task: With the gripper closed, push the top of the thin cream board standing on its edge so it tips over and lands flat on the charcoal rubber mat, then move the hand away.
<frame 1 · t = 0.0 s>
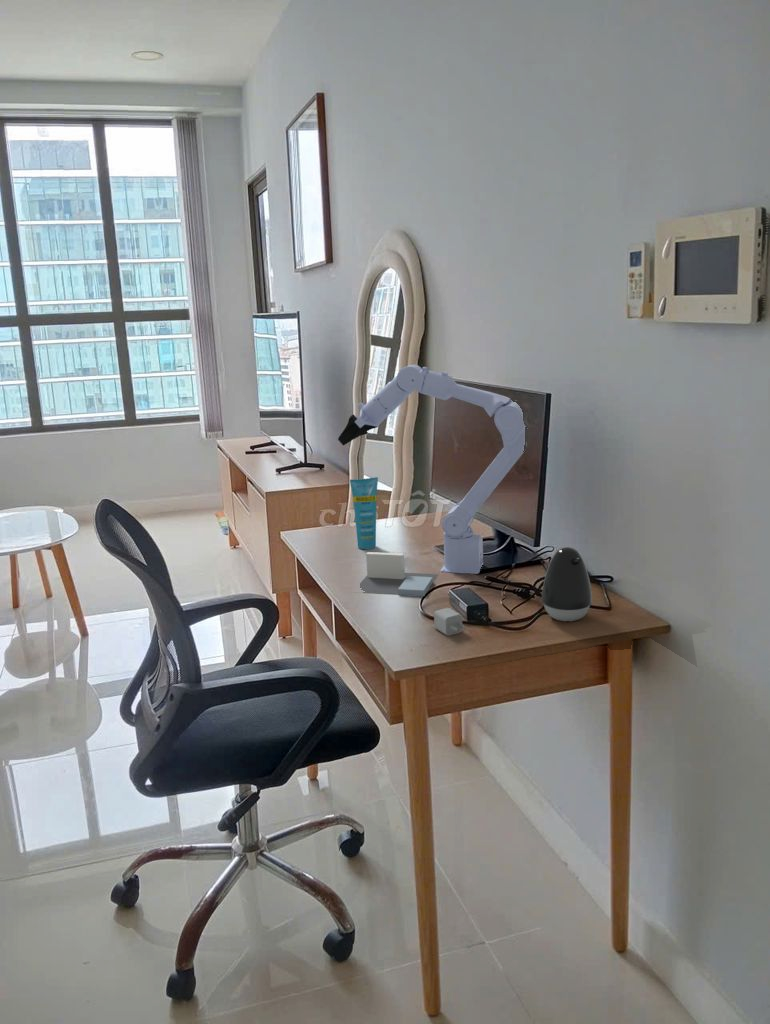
hand: (345, 439, 209), 32 cm above the table, tool tilted 50°, fingers open, 7 cm apart
cream board: (385, 577, 205), resting on mat
tube: (367, 547, 230), on the table
mat: (396, 584, 201), on the table
usb wall charger: (451, 633, 172), on the table
slate board: (415, 588, 196), resting on mat
grey egg shaped device: (566, 618, 177), on the table
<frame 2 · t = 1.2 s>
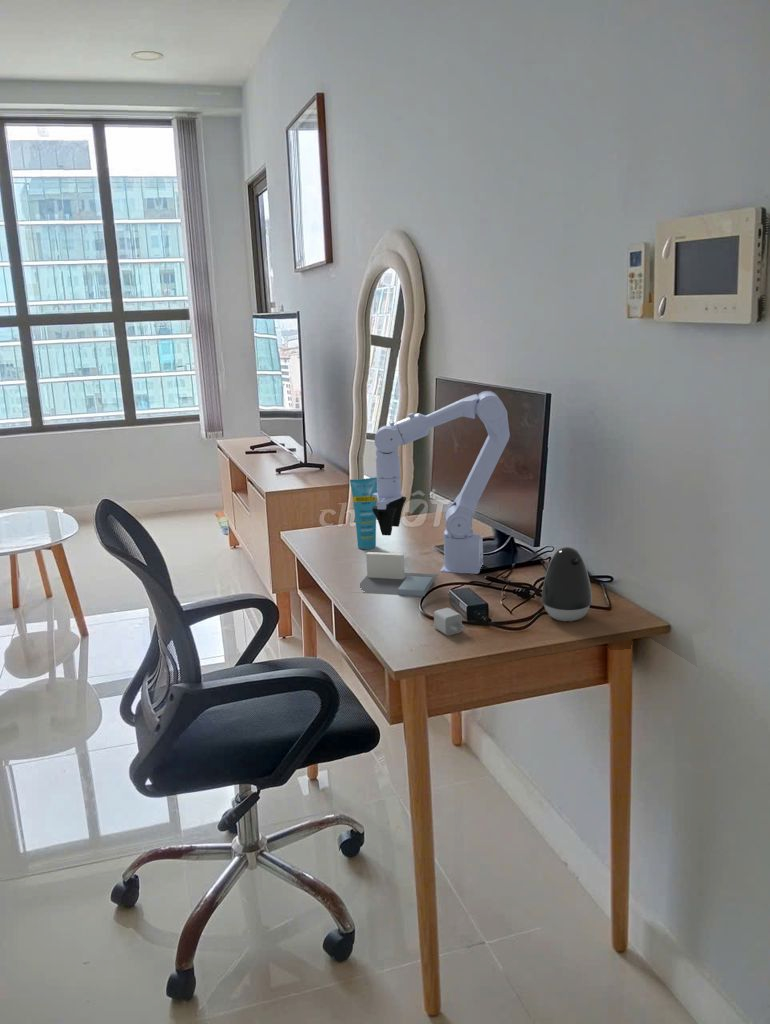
hand: (390, 530, 208), 10 cm above the table, tool pointing down, fingers open, 7 cm apart
nothing on the table moved.
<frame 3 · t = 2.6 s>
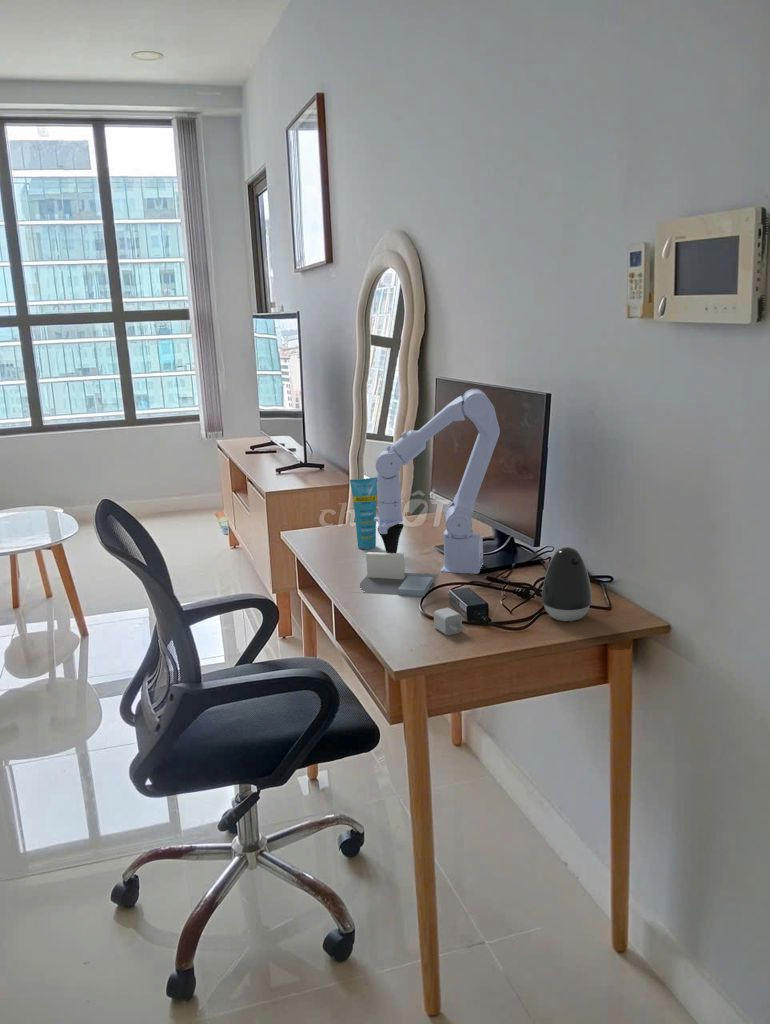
hand: (391, 554, 209), 4 cm above the table, tool pointing down, fingers closed
nothing on the table moved.
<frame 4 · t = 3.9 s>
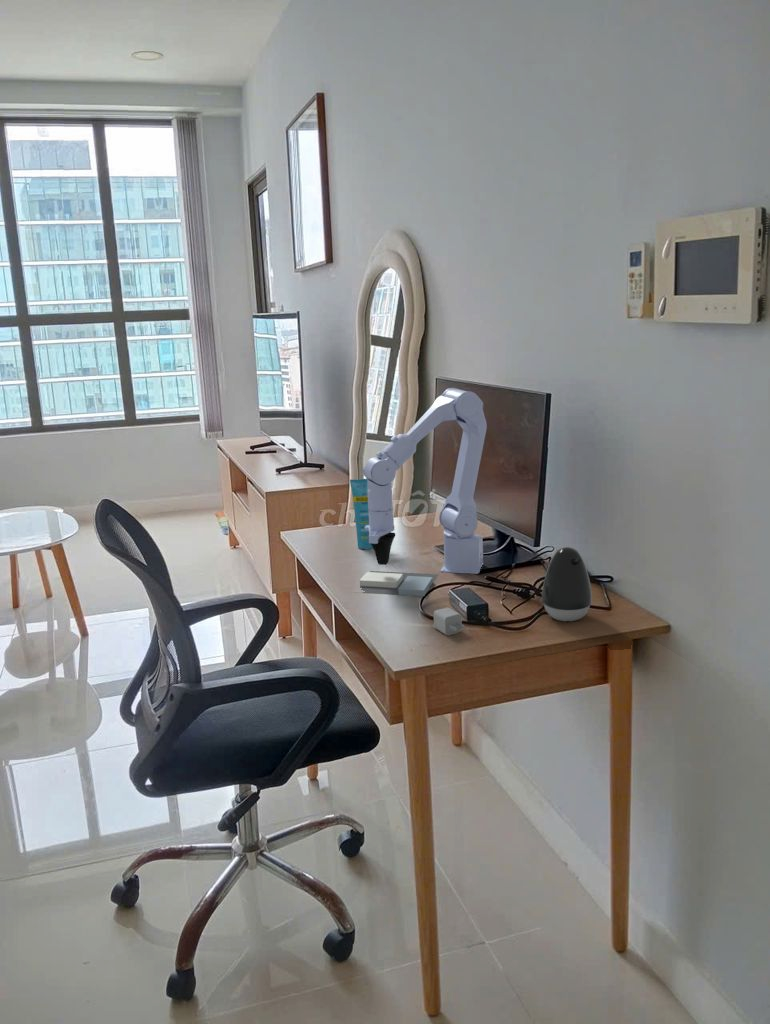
hand: (383, 563, 202), 4 cm above the table, tool pointing down, fingers closed
cream board: (384, 575, 204), point 1 cm above the table, tilted 90°, touching mat
everything else where it was.
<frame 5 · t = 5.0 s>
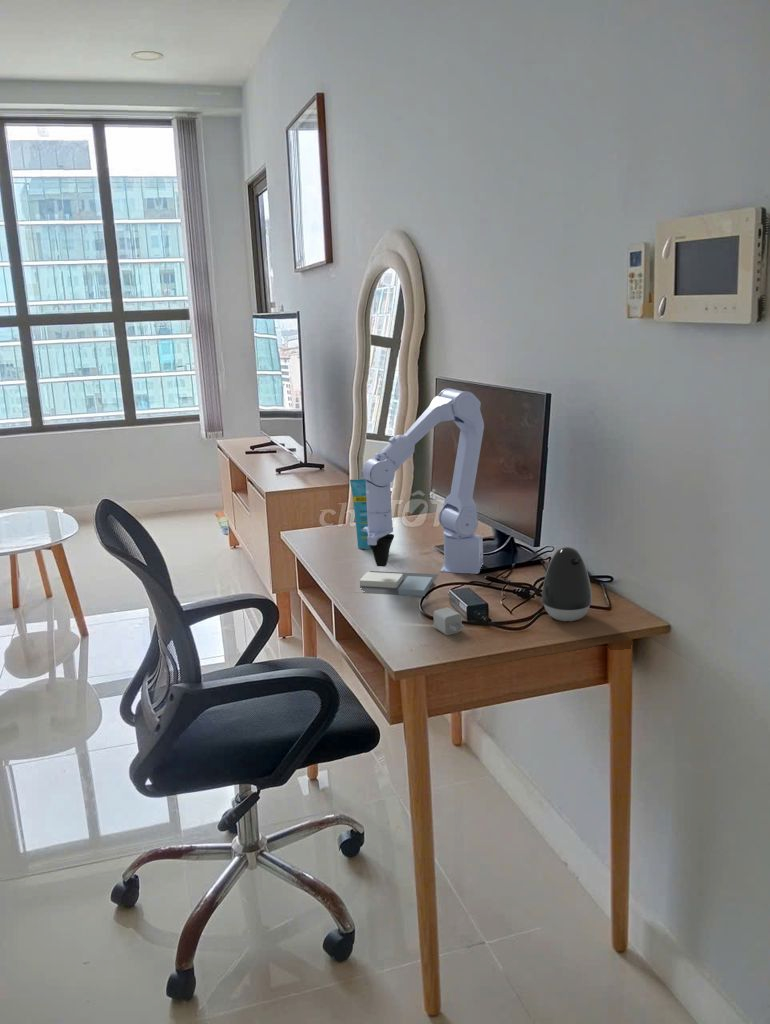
hand: (381, 565, 201), 4 cm above the table, tool pointing down, fingers closed
nothing on the table moved.
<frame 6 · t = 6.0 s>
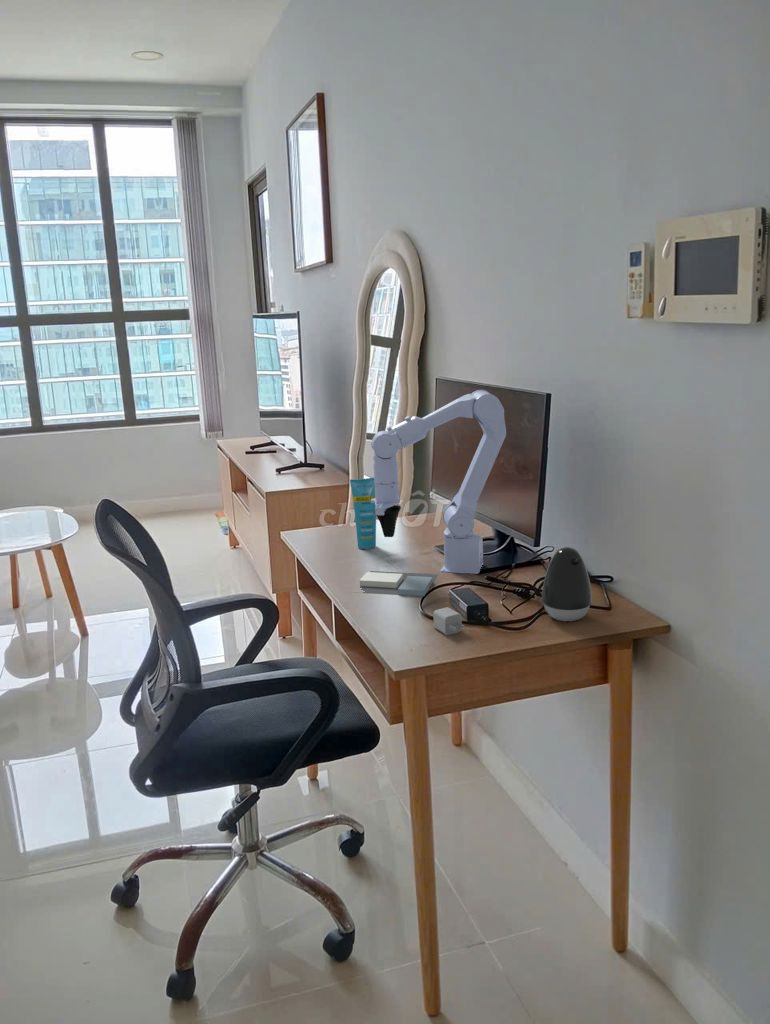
hand: (389, 536, 206), 10 cm above the table, tool pointing down, fingers closed
nothing on the table moved.
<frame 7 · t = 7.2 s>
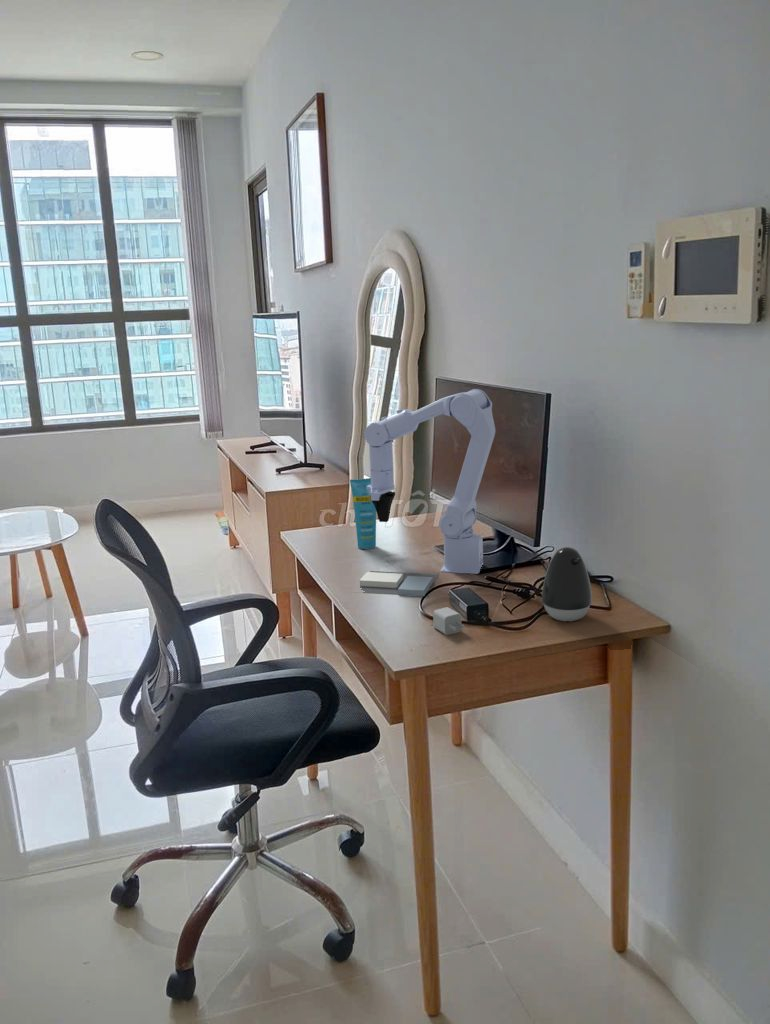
hand: (383, 521, 216), 10 cm above the table, tool pointing down, fingers closed
nothing on the table moved.
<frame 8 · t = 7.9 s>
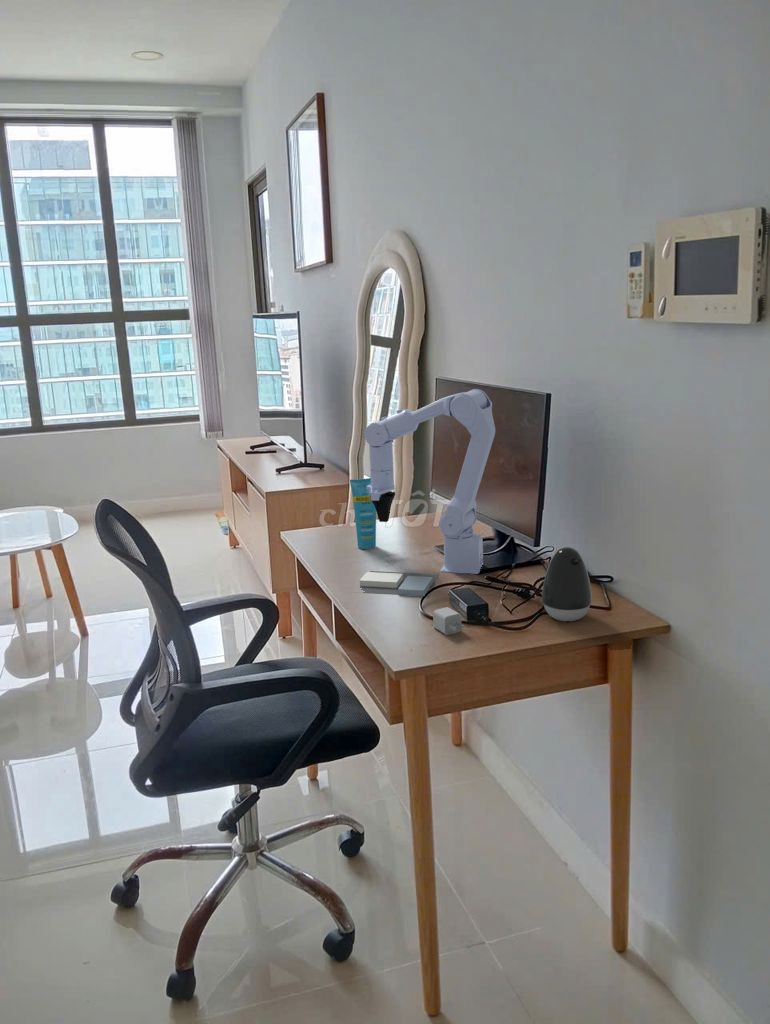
hand: (383, 521, 216), 10 cm above the table, tool pointing down, fingers closed
nothing on the table moved.
at the end: cream board tilted 90°; cream board inside the target area (4.4 cm from its centre), point 1.1 cm above the table; slate board moved 0.0 cm from its start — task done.
